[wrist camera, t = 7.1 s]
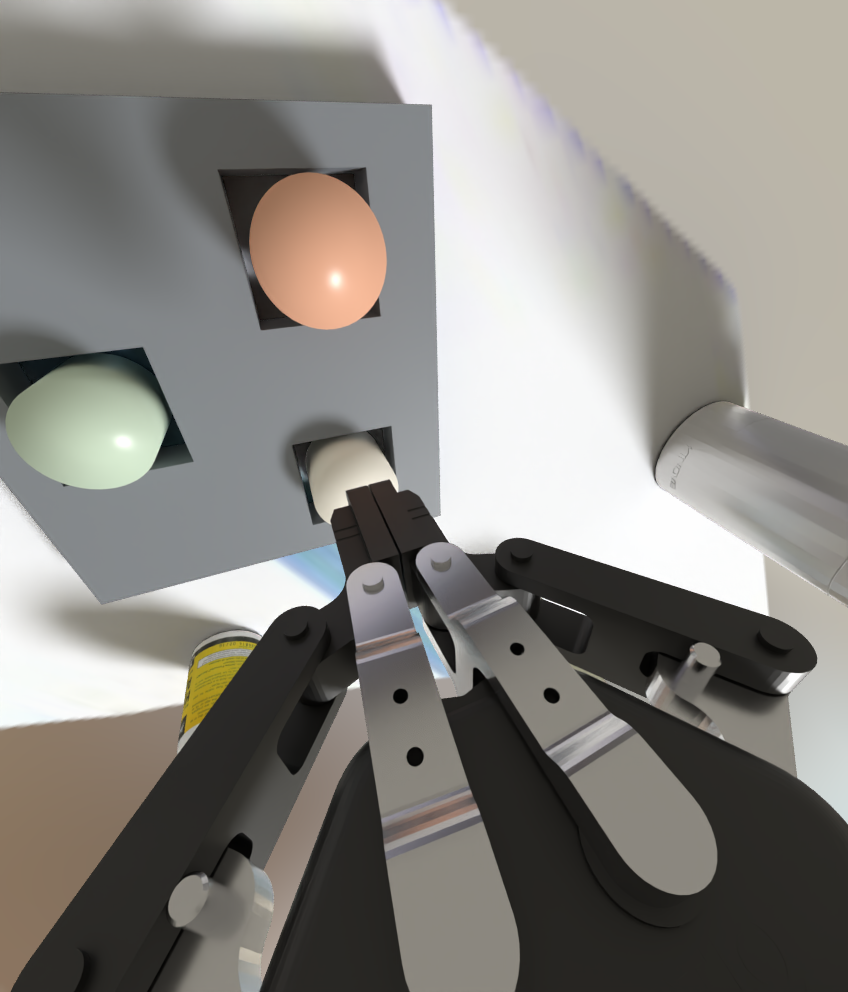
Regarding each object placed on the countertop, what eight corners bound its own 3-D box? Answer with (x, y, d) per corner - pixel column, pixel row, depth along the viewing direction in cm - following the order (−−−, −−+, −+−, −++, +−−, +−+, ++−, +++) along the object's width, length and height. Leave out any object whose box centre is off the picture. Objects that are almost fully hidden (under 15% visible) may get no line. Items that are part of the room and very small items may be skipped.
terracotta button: (354, 181, 16) (379, 170, 13) (368, 306, 18) (392, 322, 15) (233, 184, 15) (229, 174, 12) (267, 317, 17) (270, 336, 14)
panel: (411, 118, 17) (431, 104, 15) (428, 496, 28) (440, 515, 27) (-224, 106, 12) (-315, 83, 10) (113, 574, 23) (101, 604, 21)
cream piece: (375, 419, 23) (394, 448, 20) (383, 483, 26) (401, 517, 23) (297, 433, 22) (304, 467, 19) (313, 499, 25) (322, 537, 22)
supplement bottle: (179, 641, 28) (151, 797, 20) (259, 619, 29) (262, 757, 22) (204, 683, 31) (188, 832, 23) (276, 661, 32) (283, 794, 25)
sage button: (147, 346, 18) (125, 371, 15) (187, 437, 20) (175, 476, 17) (24, 360, 16) (-28, 391, 13) (84, 456, 19) (52, 500, 16)
